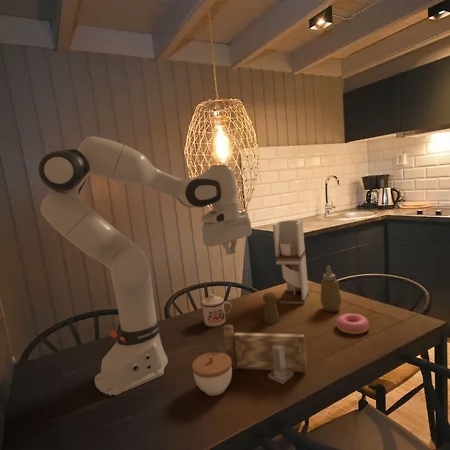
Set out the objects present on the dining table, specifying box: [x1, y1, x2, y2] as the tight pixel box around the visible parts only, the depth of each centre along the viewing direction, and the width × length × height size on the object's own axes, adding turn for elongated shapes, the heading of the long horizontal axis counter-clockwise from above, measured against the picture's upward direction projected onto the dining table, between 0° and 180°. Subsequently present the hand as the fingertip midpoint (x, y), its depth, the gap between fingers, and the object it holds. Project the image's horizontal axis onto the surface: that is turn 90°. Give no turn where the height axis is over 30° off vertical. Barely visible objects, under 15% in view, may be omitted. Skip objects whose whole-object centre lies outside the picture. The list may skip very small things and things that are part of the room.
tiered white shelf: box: [272, 219, 309, 305], centre depth 143 cm, size 11×11×35 cm
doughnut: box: [335, 312, 370, 335], centre depth 113 cm, size 11×11×4 cm
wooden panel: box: [234, 332, 308, 371], centre depth 93 cm, size 20×2×10 cm, turn 74°
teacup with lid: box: [201, 293, 232, 327], centre depth 131 cm, size 12×9×12 cm
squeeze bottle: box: [320, 265, 342, 313], centre depth 129 cm, size 8×8×18 cm
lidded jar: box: [191, 351, 233, 397], centre depth 88 cm, size 11×11×9 cm
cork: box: [262, 292, 281, 325], centre depth 126 cm, size 6×6×11 cm
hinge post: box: [222, 324, 239, 371], centre depth 97 cm, size 3×3×13 cm
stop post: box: [267, 343, 295, 385], centre depth 90 cm, size 5×5×9 cm
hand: (230, 253), depth 110 cm, fingers closed
